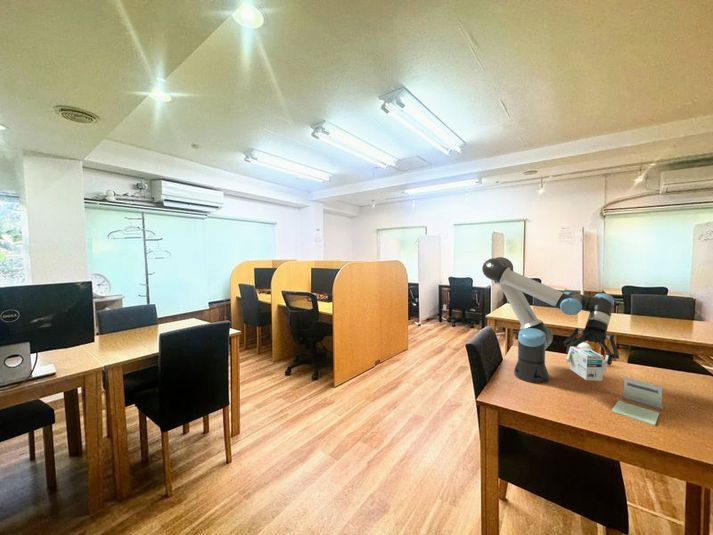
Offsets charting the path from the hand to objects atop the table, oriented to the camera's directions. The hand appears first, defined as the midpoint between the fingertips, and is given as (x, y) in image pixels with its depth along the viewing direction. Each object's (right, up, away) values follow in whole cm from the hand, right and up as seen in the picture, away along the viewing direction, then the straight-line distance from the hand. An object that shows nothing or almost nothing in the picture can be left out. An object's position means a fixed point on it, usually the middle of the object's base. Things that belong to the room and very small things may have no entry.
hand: (585, 365), depth 123 cm
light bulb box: (+1, -5, +1) cm, 5 cm away
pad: (+11, -15, -10) cm, 22 cm away
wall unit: (+20, -14, -4) cm, 25 cm away
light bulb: (+29, -11, +38) cm, 49 cm away
